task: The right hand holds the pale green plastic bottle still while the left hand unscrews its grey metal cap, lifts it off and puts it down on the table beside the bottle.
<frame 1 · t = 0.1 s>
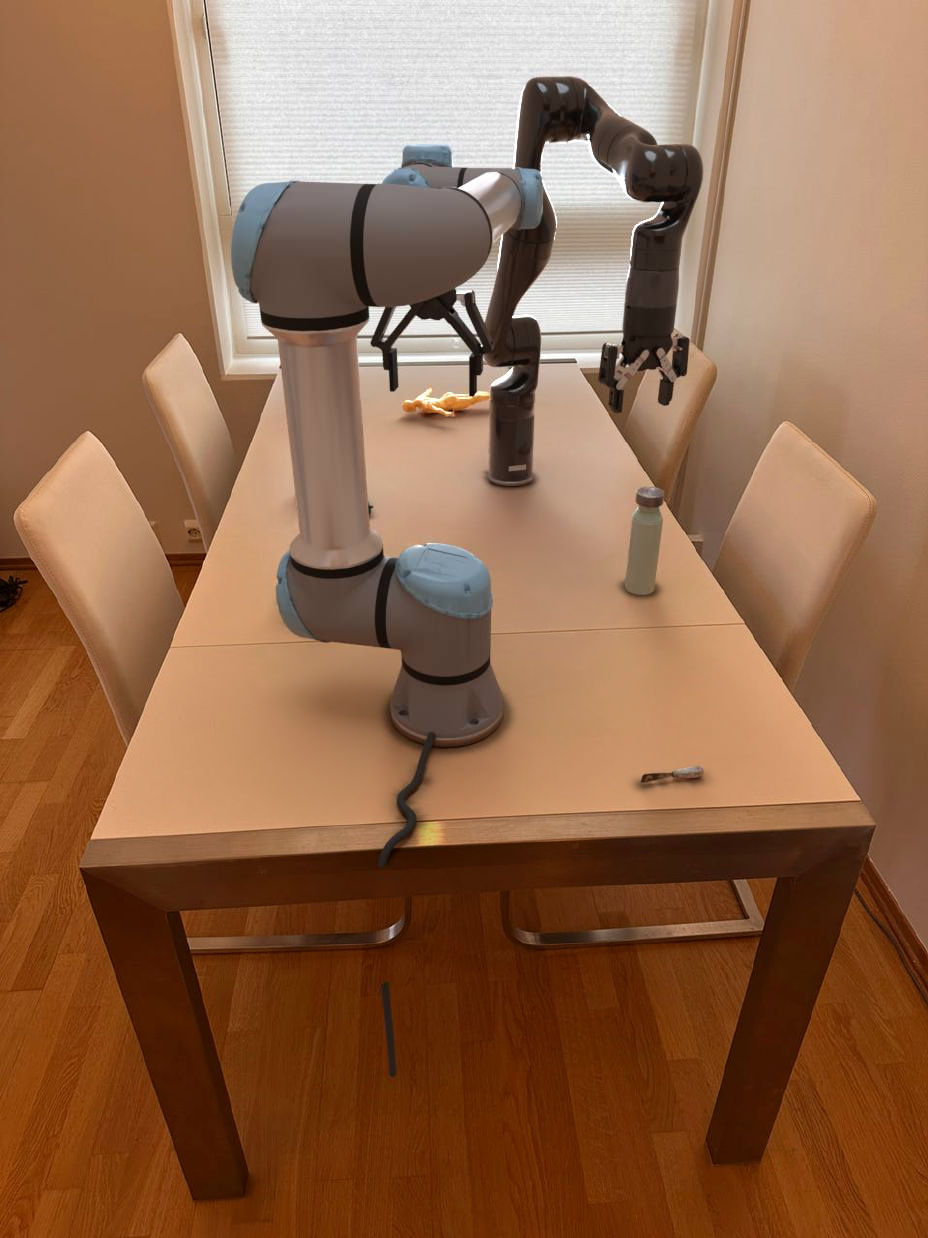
left hand: (433, 391, 149), 28 cm above the table, tool pointing down, fingers open, 13 cm apart
right hand: (639, 407, 138), 29 cm above the table, tool pointing down, fingers open, 8 cm apart
putty knife: (671, 781, 109), on the table
stone: (321, 599, 147), on the table
bottle: (639, 587, 149), on the table
handgun: (337, 501, 179), on the table
cap: (650, 493, 140), point 17 cm above the table, screwed on, not yet turned
human figure: (450, 410, 226), on the table
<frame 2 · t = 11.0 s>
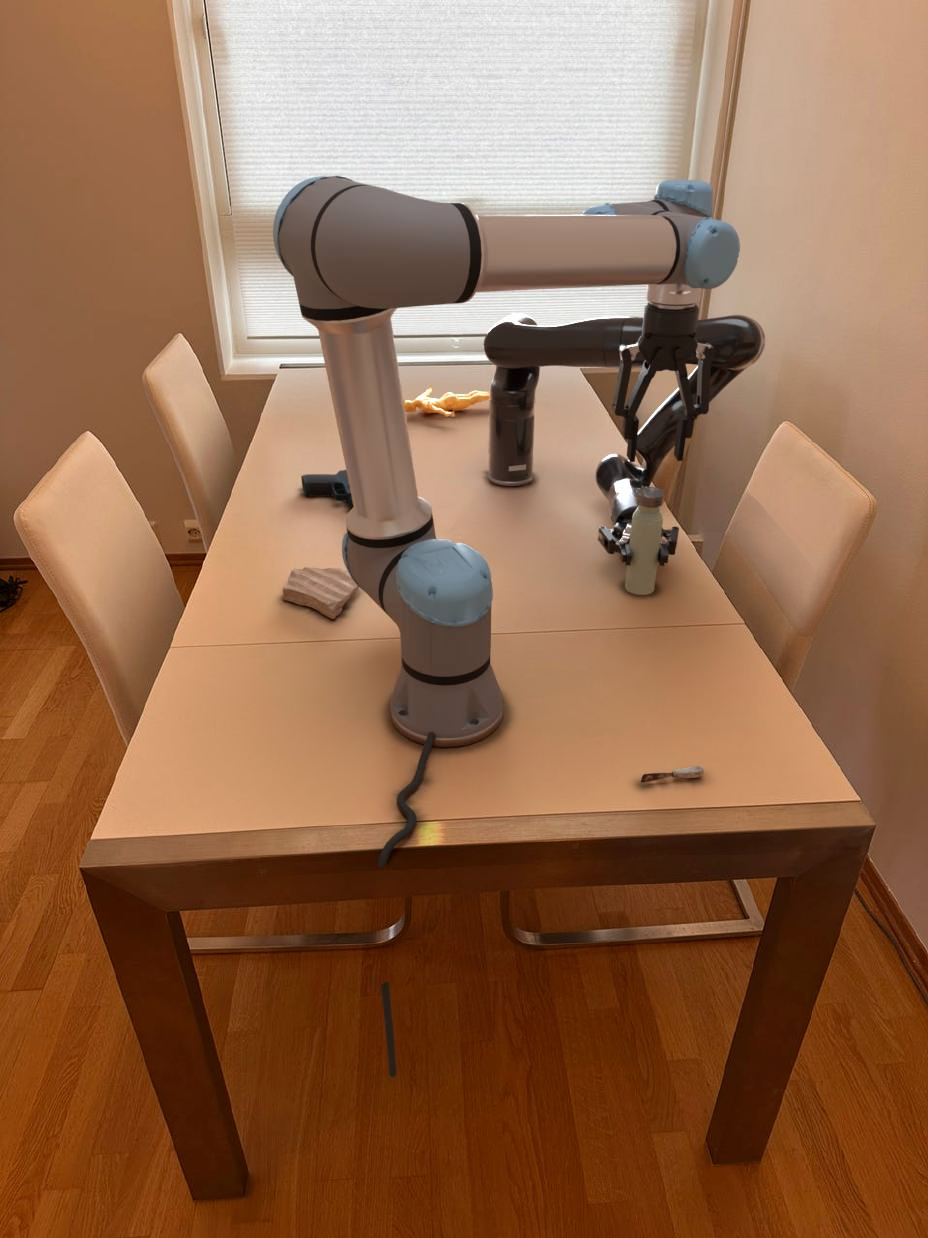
left hand: (654, 457, 137), 23 cm above the table, tool pointing down, fingers open, 7 cm apart
right hand: (645, 560, 144), 7 cm above the table, tool horizontal, fingers closed on bottle, 5 cm apart
bottle: (639, 587, 149), on the table, touching right hand
everything else where it was.
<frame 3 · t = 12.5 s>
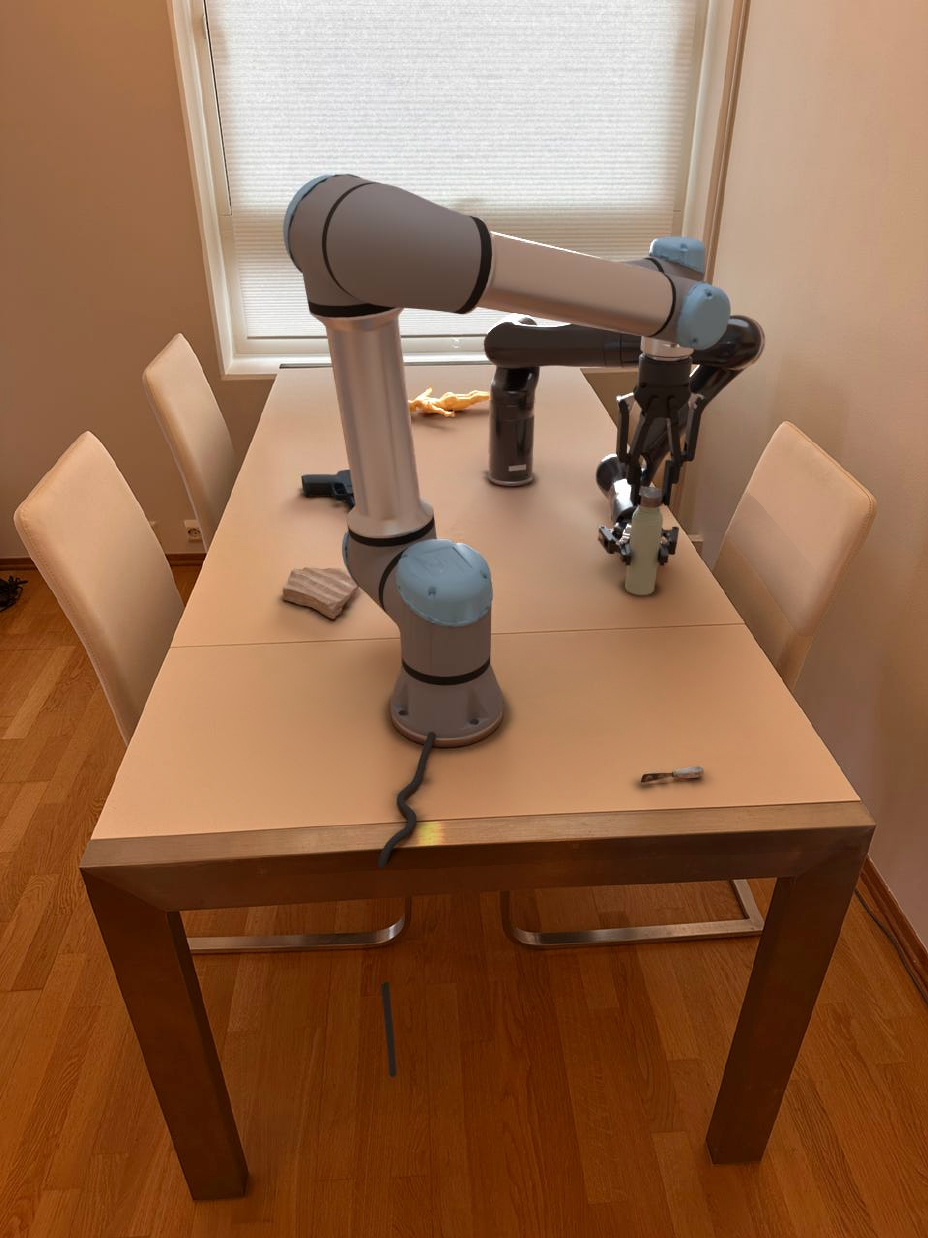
left hand: (649, 501, 141), 16 cm above the table, tool pointing down, fingers closed on cap, 4 cm apart
right hand: (645, 560, 144), 7 cm above the table, tool horizontal, fingers closed on bottle, 5 cm apart
bottle: (639, 587, 149), on the table, touching right hand
cap: (650, 493, 140), point 17 cm above the table, screwed on, not yet turned, touching left hand
everything else where it was.
when the left hand's fingers open (1 cm above the table, at t = 31.1 s): cap drops 1 cm, point 1 cm above the table.
when the right hand's fingers open (7 cm above the table, at t = 32.4 s): bottle stays where it is, on the table.
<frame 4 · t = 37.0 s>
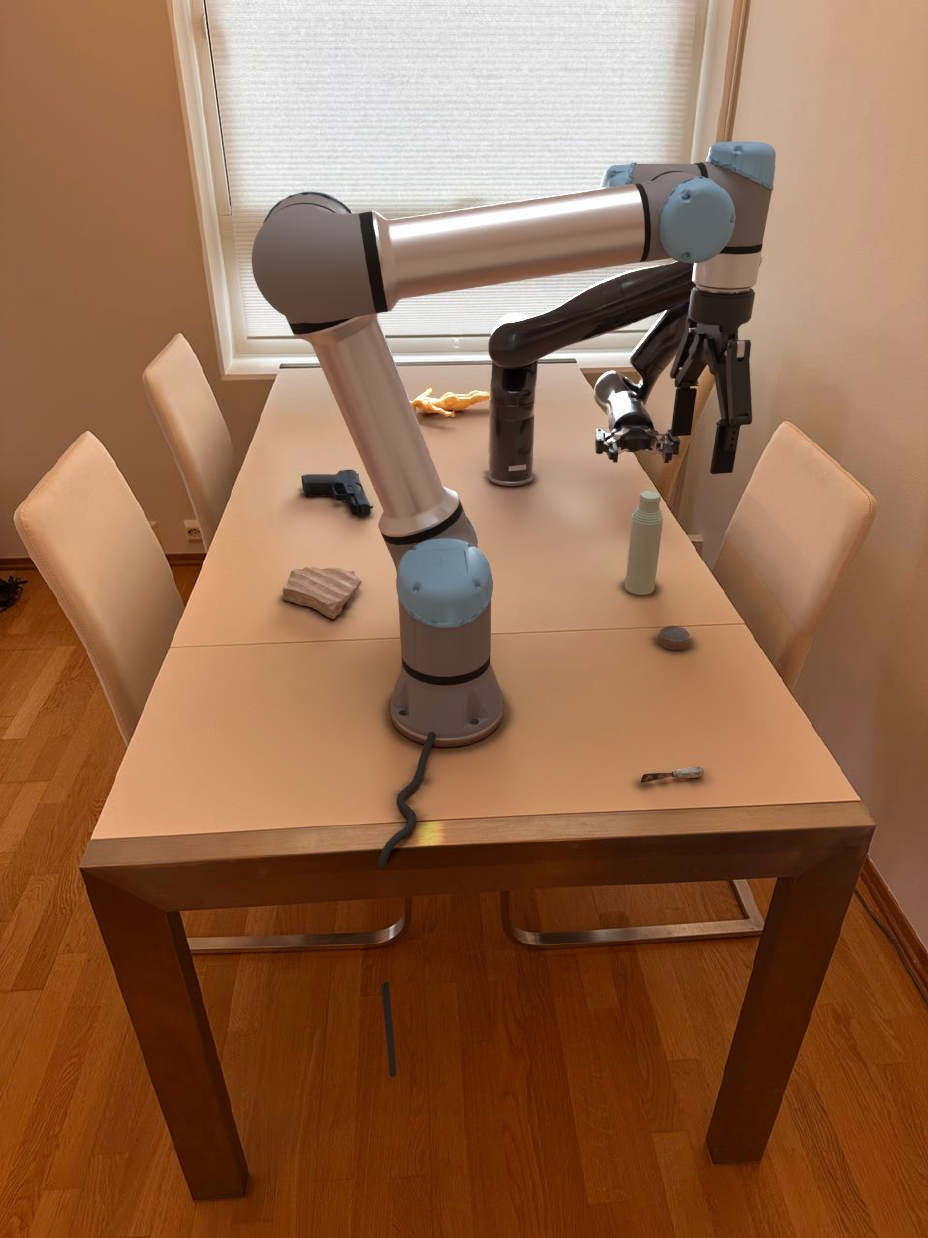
left hand: (699, 453, 119), 30 cm above the table, tool pointing down, fingers open, 13 cm apart
right hand: (641, 457, 149), 19 cm above the table, tool horizontal, fingers open, 8 cm apart
bottle: (639, 587, 149), on the table
cap: (674, 635, 135), point 1 cm above the table, off its thread
everything else where it was.
at the end: cap came off its thread; cap point 1.4 cm above the table; the left hand is holding nothing; the right hand is holding nothing; bottle tilted 0°; bottle moved 0.0 cm from its start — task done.
